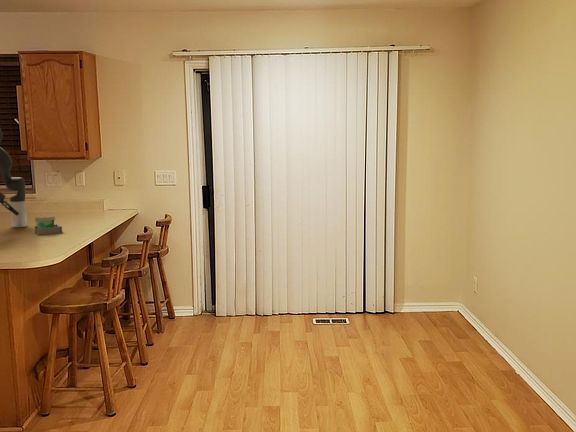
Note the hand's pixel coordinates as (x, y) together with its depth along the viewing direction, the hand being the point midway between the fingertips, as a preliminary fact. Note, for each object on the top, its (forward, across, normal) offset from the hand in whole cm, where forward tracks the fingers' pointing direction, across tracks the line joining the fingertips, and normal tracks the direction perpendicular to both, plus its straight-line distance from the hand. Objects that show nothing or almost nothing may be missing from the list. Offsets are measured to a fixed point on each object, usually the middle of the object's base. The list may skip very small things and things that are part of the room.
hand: (17, 214), depth 367 cm
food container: (+19, -2, -2) cm, 19 cm away
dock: (+20, -2, -4) cm, 21 cm away
